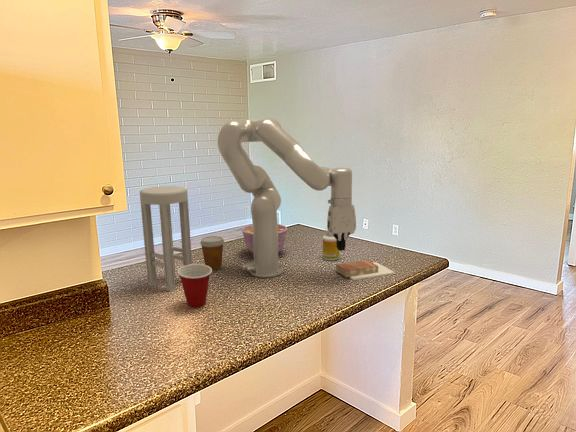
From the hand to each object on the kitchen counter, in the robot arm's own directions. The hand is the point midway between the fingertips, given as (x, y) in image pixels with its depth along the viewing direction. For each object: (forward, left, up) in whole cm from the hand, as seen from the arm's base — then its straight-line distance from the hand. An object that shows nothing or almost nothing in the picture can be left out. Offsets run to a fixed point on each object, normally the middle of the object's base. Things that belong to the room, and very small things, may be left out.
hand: (340, 249), depth 159 cm
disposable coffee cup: (-43, +28, -11) cm, 52 cm away
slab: (0, 0, -9) cm, 9 cm away
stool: (-61, +17, -11) cm, 64 cm away
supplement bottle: (+6, +20, -11) cm, 23 cm away
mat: (+11, 0, -10) cm, 15 cm away
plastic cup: (-55, -5, -11) cm, 56 cm away
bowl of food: (-18, +37, -11) cm, 43 cm away
